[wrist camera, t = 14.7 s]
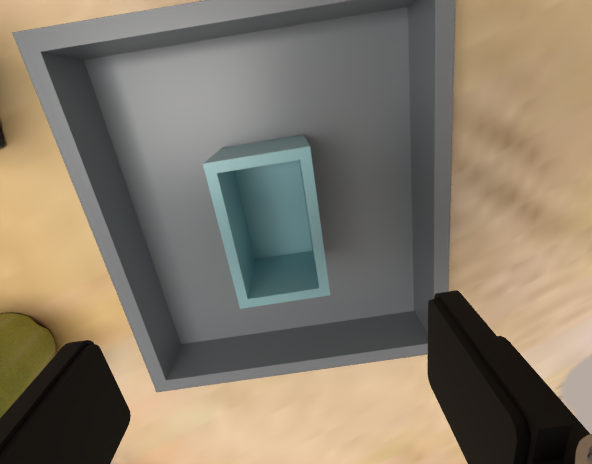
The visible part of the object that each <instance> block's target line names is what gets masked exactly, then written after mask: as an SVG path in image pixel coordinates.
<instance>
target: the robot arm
mask: <svg viewBox="0 0 592 464" xmlns="http://www.w3.org/2000/svg"><path fill="white" fill-rule="evenodd" d="M428 379H429V382H430V385H431V388H432V390H433V392H434V394H435V396H436V398H437V400H438V402H439V404H440V406H441V409H442V411H443V413H444V415H445V417H446V419H447V421H448V423H449V425H450V427H451V429H452V431H453V434H454V436H455V438H456V440H457V442H458V444H459V446H460V448H461V450H462V452H463V454H464V456H465V459H466V461H467V463H468V464H592V434H590V433H589V432H588V431H587V430H586V429H585V427H584V426H583V425H582V424H581V423H580V422H579V421H578V419H577V418H576V417H575V416H574V415H573V414H572V413H571V411H570V410H569V409H568V408H567V407H566V406H565V405H564V403H563V402H562V401H561V400H560V399H559V398H558V397H557V395H556V394H555V393H554V392H553V391H552V390H551V389H550V387H549V386H548V385H547V384H546V383H545V382H544V381H543V379H542V378H541V377H540V376H539V375H538V374H537V373H536V371H535V370H534V369H533V368H532V367H531V366H530V365H529V363H528V362H527V361H526V360H525V359H524V358H523V357H522V356H521V354H520V353H519V352H518V351H517V350H516V349H515V348H514V346H513V345H512V344H511V343H510V342H509V341H508V340H507V339H506V338H504V337H502V336H496V335H495V333H494V332H493V331H492V330H491V329H490V328H489V326H488V325H487V324H486V323H485V322H484V320H483V319H482V318H481V317H480V316H479V314H478V313H477V312H476V311H475V310H474V309H473V307H472V306H471V305H470V304H469V303H468V301H467V300H466V299H465V298H464V297H463V296H462V294H461V293H460V292H459V291H450V292H442V293H436V294H435V296H434V299H431V300H429V301H428ZM129 422H130V410H129V408H128V406H127V404H126V402H125V400H124V397H123V395H122V393H121V391H120V389H119V387H118V385H117V383H116V381H115V378H114V376H113V374H112V372H111V370H110V368H109V366H108V364H107V362H106V360H105V357H104V355H103V353H102V351H101V349H100V347H99V346H98V345H95V344H94V343H93V342H92V341H89V340H86V341H79V342H71V343H67V344H65V345H64V346H63V347H62V348H61V349H60V351H59V352H58V353H57V354H56V355H55V356H54V357H53V359H52V360H51V361H50V362H49V363H48V364H47V365H46V367H45V368H44V369H43V370H42V371H41V372H40V373H39V375H38V376H37V377H36V378H35V379H34V380H33V381H32V383H31V384H30V385H29V386H28V387H27V388H26V389H25V391H24V392H23V393H22V394H21V395H20V396H19V397H18V399H17V400H16V401H15V402H14V403H13V404H12V405H11V407H10V408H9V409H8V410H7V411H6V412H5V413H4V415H3V416H2V417H1V418H0V464H110V463H111V461H112V459H113V457H114V455H115V452H116V450H117V448H118V446H119V444H120V442H121V440H122V438H123V436H124V434H125V431H126V429H127V427H128V425H129Z"/></svg>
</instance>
